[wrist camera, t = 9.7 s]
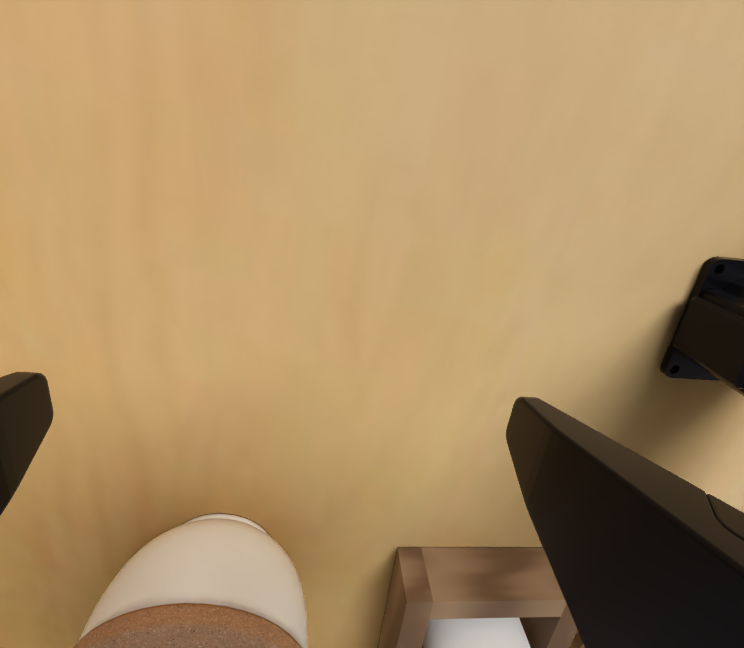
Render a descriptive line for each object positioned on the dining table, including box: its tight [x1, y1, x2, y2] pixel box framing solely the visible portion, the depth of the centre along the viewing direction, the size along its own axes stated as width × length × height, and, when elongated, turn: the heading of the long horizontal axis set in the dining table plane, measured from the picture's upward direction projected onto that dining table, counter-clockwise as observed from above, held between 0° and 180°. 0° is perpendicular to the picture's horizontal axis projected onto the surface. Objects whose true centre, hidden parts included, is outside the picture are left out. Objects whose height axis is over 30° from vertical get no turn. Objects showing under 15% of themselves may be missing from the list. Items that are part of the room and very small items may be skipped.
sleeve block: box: [378, 547, 577, 648], centre depth 30 cm, size 11×11×4 cm
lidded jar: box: [74, 514, 308, 648], centre depth 23 cm, size 11×11×9 cm
